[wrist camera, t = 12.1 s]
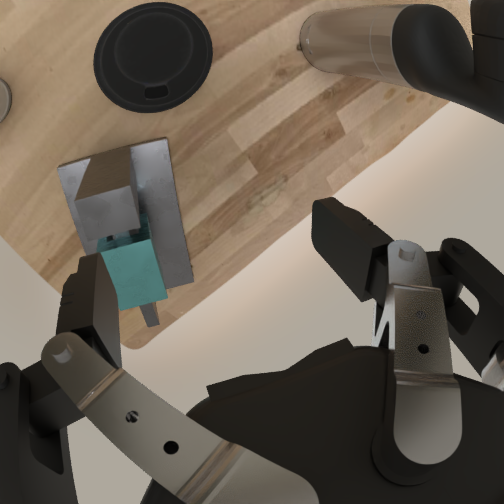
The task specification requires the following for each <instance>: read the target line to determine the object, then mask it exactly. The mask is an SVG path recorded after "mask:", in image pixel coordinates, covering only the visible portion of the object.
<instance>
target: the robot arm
mask: <svg viewBox="0 0 504 504" xmlns="http://www.w3.org/2000/svg"><path fill="white" fill-rule="evenodd" d="M470 15H471V28H472V33H473V34H474V35H472V40H473V50H472V47H471V45H470V42H469V40H468V38H467V35H466V33H465V31H464V29H463V27H462V26H461V24H460V23H459V21H458V20H457V19H456V18H455V17H454V16H453V15H452V14H451V13H450V12H449V11H447V10H446V9H444V8H442V7H439V6H436V5H430V4H397V5H379V6H365V7H355V8H346V9H337V10H330V11H323V12H318V13H316V14H313V15H312V16H310V17H309V18H308V19H307V20H306V21H305V23H304V25H303V27H302V30H301V33H300V43H301V48H302V51H303V53H304V55H305V57H306V59H307V60H308V61H309V62H310V63H311V64H312V65H313V66H314V67H316V68H317V69H320V70H322V71H326V72H331V73H338V74H344V75H350V76H356V77H361V78H367V79H372V80H377V81H382V82H387V83H391V84H396V85H400V86H405V87H409V88H413V89H417V90H420V91H423V92H427V93H430V94H432V95H434V96H437V97H440V98H443V99H446V100H449V101H452V102H455V103H458V104H460V105H463V106H465V107H468V108H470V109H473V110H475V111H477V112H479V113H482V114H484V115H486V116H488V117H490V118H492V119H494V120H496V121H498V122H500V123H502V124H504V0H472V1H471V5H470ZM311 232H312V233H311V237H312V242H313V245H314V248H315V249H316V251H317V252H318V253H319V254H320V255H321V256H322V257H323V259H324V260H325V261H326V262H327V263H328V264H329V265H330V267H331V268H332V269H333V270H334V271H335V272H336V273H337V274H338V276H339V277H340V278H341V279H342V280H343V281H344V283H345V284H346V285H347V286H348V287H349V288H350V289H351V290H352V292H353V293H354V294H355V295H356V296H357V298H358V299H359V300H360V301H361V302H364V301H367V300H369V299H372V298H374V299H375V300H376V301H375V305H374V315H373V332H372V344H371V346H354V347H353V345H352V344H351V343H350V341H349V340H348V338H345V339H343V340H340V341H337V342H335V343H332V344H330V345H327V346H325V347H322V348H319V349H317V350H315V351H313V352H312V353H311V354H309V355H308V356H306V357H305V358H303V359H302V360H300V361H299V362H297V363H296V364H294V365H293V366H291V367H290V368H288V369H286V370H284V371H278V372H269V373H260V374H250V375H242V376H239V377H236V378H232V379H229V380H226V381H222V382H219V383H215V384H212V385H208V386H206V387H207V390H208V394H209V397H207V398H206V399H204V400H203V401H201V402H199V403H198V404H197V405H195V406H194V407H193V408H192V409H191V410H190V411H189V412H188V413H187V414H186V415H184V414H183V413H181V412H180V411H178V410H177V409H176V408H174V407H173V406H171V405H170V404H168V403H167V402H166V401H164V400H163V399H162V398H160V397H159V396H157V395H156V394H155V393H153V392H152V391H151V390H149V389H148V388H147V387H145V386H144V385H143V384H141V383H140V382H139V381H138V380H136V379H135V378H134V377H133V376H131V375H130V374H129V373H127V372H126V371H125V370H123V369H122V361H121V350H120V349H121V348H120V333H119V313H118V298H117V293H116V290H115V287H114V284H113V282H112V279H111V277H110V274H109V272H108V269H107V267H106V264H105V262H104V259H103V257H102V255H101V253H100V252H97V253H94V254H90V255H87V256H83V257H80V259H79V265H78V271H77V273H74V274H71V275H70V276H69V277H68V279H67V281H66V282H65V284H64V285H63V291H62V298H61V302H60V305H61V306H60V308H59V314H58V321H57V328H56V336H54V337H53V338H51V339H50V340H49V341H48V342H47V343H46V344H45V346H44V348H43V350H42V353H41V360H40V361H38V362H37V363H35V364H33V365H31V366H29V367H27V368H26V369H23V370H22V371H21V370H20V369H19V368H18V366H17V365H15V364H14V363H11V362H6V363H2V364H1V365H0V504H78V500H77V495H76V490H75V485H74V479H73V473H72V466H71V460H70V451H69V443H68V434H67V426H68V425H70V424H72V423H74V422H76V421H78V420H79V419H81V418H83V417H85V416H86V417H87V418H88V419H89V420H90V421H91V422H92V423H93V424H94V425H95V426H96V427H97V428H98V429H99V430H100V431H101V432H102V433H103V434H104V435H105V436H106V437H107V438H108V439H109V440H110V441H111V442H112V443H113V444H114V445H115V446H116V447H117V448H118V449H120V450H121V451H122V452H123V453H124V454H125V455H126V456H127V457H128V458H129V459H131V460H132V461H133V462H134V463H135V464H136V465H138V466H139V467H140V468H141V469H142V470H143V471H145V472H146V473H147V474H148V475H149V476H151V477H152V480H151V482H150V484H149V486H148V488H147V490H146V492H145V494H144V496H143V499H142V501H141V503H140V504H504V275H503V274H502V273H501V272H500V271H499V270H498V269H497V268H496V267H494V266H493V265H492V264H491V263H490V262H489V261H488V260H487V259H485V258H484V257H483V256H482V255H481V254H480V253H479V252H477V251H476V250H475V249H474V248H473V247H472V246H470V245H469V244H468V243H466V242H465V241H462V240H460V239H456V238H447V239H444V240H443V241H442V244H441V247H440V251H431V252H425V251H424V249H423V248H422V247H421V246H419V245H418V244H416V243H413V242H411V241H407V240H396V241H394V240H393V239H392V238H391V237H390V236H388V235H387V234H386V233H385V232H384V231H382V230H381V229H380V228H379V227H378V226H376V225H374V224H373V222H371V221H370V220H369V219H367V218H366V217H365V216H364V215H363V214H361V213H360V212H359V211H357V210H354V209H352V208H349V207H346V206H344V205H343V204H342V203H341V202H339V201H338V200H337V199H336V198H334V197H329V198H324V199H319V200H315V201H314V202H313V206H312V231H311ZM463 285H464V286H465V287H466V288H467V289H468V290H469V291H470V292H471V293H472V294H473V295H474V296H475V297H476V298H477V300H478V302H479V312H478V314H477V316H476V315H475V314H474V312H473V311H472V310H471V309H470V308H469V307H468V306H467V305H466V304H465V303H464V302H463V301H462V300H461V299H460V298H459V295H460V292H461V290H462V288H463ZM449 337H450V339H451V340H452V341H453V342H454V344H455V345H456V346H457V347H458V349H459V350H460V351H461V352H462V353H463V355H464V356H465V357H466V359H467V360H468V361H469V362H470V364H471V365H472V366H473V367H474V369H475V370H476V371H477V373H478V374H479V375H480V377H481V378H482V382H483V383H482V382H479V381H476V380H473V379H470V378H467V377H464V376H461V375H458V374H455V373H453V369H452V359H451V349H450V342H449Z"/></svg>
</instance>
